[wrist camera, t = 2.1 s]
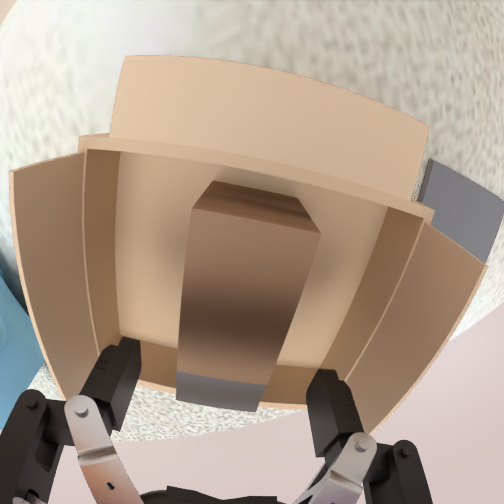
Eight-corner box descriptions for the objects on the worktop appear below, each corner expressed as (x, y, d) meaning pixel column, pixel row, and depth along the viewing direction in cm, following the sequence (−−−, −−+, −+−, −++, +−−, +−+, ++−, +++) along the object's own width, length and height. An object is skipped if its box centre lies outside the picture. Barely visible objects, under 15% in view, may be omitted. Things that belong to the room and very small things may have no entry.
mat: (429, 159, 15) (434, 160, 15) (502, 201, 16) (506, 203, 16) (384, 287, 19) (387, 291, 19) (462, 300, 20) (465, 303, 20)
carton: (129, 72, 13) (26, 38, 4) (411, 134, 15) (523, 155, 6) (116, 337, 21) (74, 423, 13) (320, 371, 23) (341, 463, 14)
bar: (212, 180, 16) (191, 208, 10) (297, 197, 16) (321, 234, 11) (190, 338, 20) (175, 399, 15) (254, 349, 21) (255, 412, 15)
